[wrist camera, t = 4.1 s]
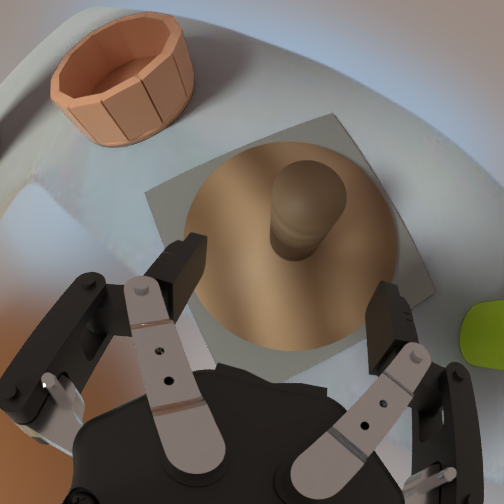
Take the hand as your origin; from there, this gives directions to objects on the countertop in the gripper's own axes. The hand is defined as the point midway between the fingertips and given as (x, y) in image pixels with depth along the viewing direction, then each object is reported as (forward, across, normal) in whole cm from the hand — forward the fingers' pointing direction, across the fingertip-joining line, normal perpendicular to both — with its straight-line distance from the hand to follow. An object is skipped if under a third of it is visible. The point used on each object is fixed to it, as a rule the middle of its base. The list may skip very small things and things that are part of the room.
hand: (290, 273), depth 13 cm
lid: (+9, 0, +3) cm, 9 cm away
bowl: (+17, +19, -4) cm, 26 cm away
